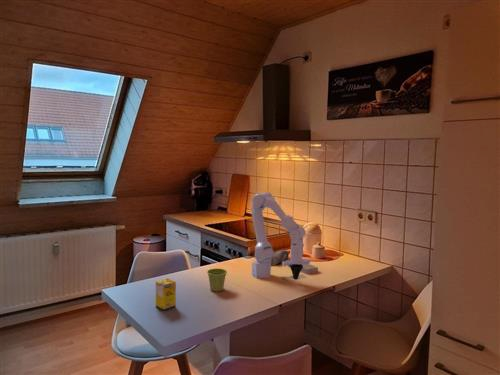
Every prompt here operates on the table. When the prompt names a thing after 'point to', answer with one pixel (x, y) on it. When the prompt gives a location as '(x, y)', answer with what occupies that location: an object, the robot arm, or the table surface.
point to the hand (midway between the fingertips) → (295, 278)
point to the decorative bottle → (279, 257)
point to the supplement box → (165, 294)
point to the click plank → (294, 279)
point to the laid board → (292, 277)
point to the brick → (308, 269)
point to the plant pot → (216, 279)
